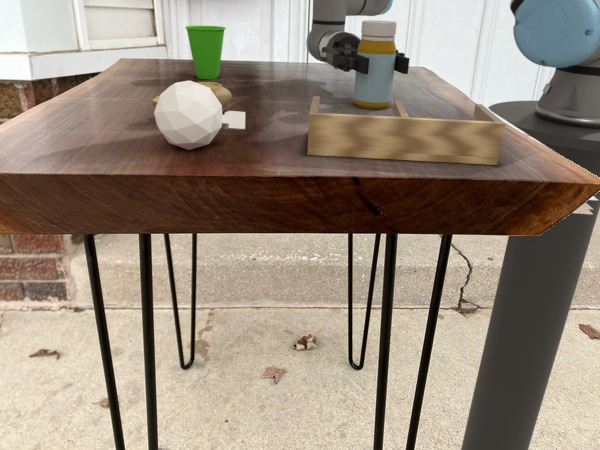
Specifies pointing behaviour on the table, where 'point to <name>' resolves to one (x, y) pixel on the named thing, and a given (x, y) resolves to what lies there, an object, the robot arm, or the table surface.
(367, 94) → the bottle
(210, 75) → the cup
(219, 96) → the oil lamp
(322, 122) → the rack
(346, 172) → the table surface
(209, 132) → the perfume bottle
